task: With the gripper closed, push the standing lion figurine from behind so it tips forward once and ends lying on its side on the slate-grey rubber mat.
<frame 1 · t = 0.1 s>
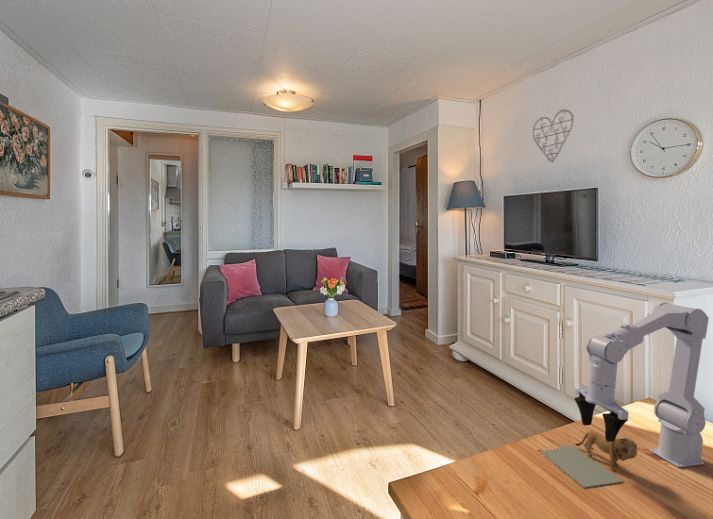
hand: (597, 432, 97), 10 cm above the table, tool pointing down, fingers open, 7 cm apart
lion figurine: (604, 461, 101), on the table, touching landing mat
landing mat: (577, 465, 99), on the table
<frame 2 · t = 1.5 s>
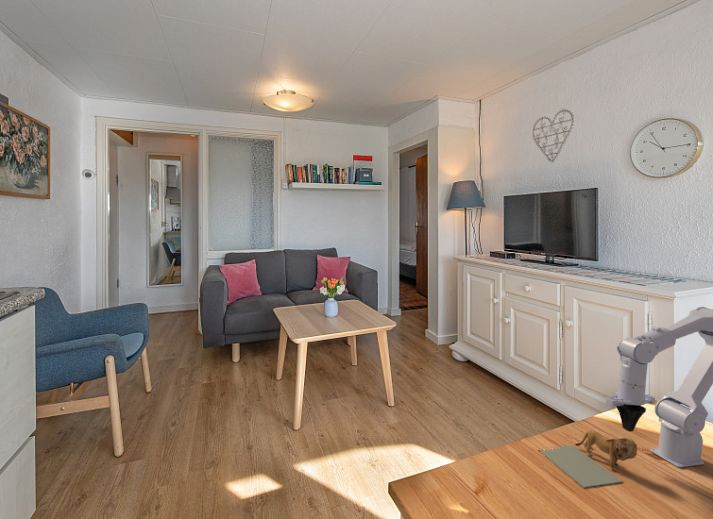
hand: (627, 429, 102), 9 cm above the table, tool pointing down, fingers closed
nothing on the table moved.
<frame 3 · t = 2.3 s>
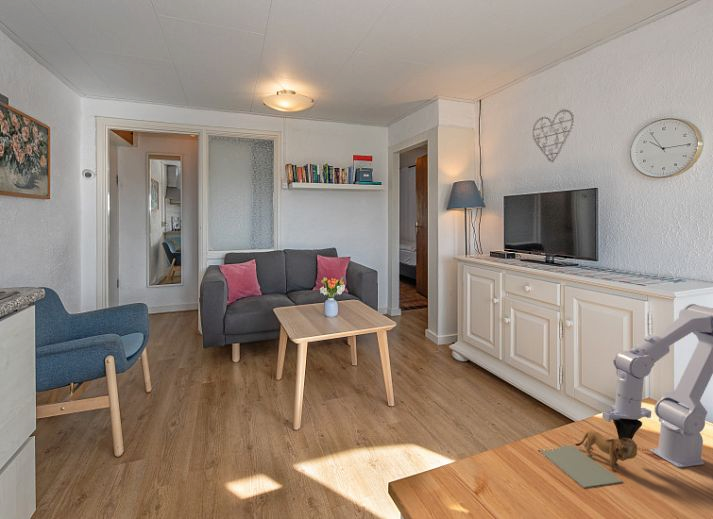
hand: (624, 443, 102), 5 cm above the table, tool pointing down, fingers closed
nothing on the table moved.
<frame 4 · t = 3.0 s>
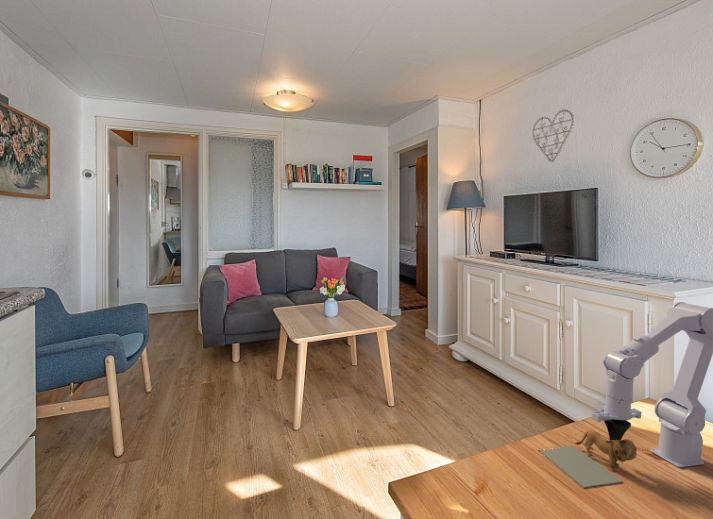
hand: (614, 444, 101), 5 cm above the table, tool pointing down, fingers closed
lion figurine: (604, 461, 101), on the table, touching gripper, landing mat
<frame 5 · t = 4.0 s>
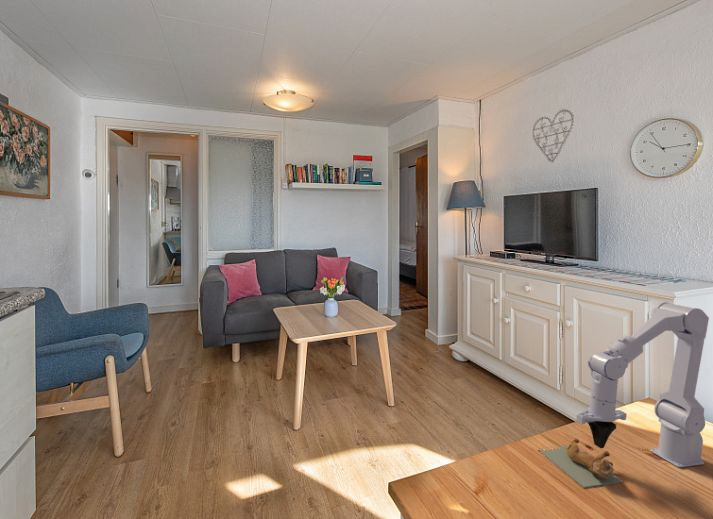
hand: (598, 446, 100), 5 cm above the table, tool pointing down, fingers closed, pressing on lion figurine
lion figurine: (598, 451, 100), point 3 cm above the table, touching gripper, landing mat
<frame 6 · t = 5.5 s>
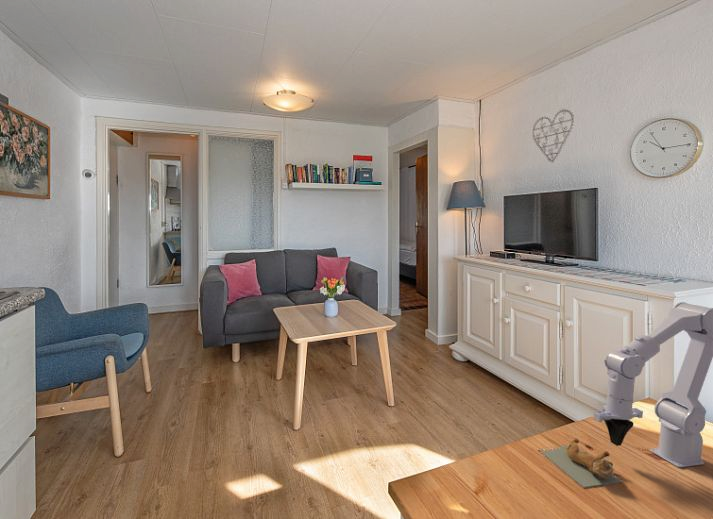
hand: (615, 443, 101), 5 cm above the table, tool pointing down, fingers closed
lion figurine: (598, 451, 100), point 3 cm above the table, touching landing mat
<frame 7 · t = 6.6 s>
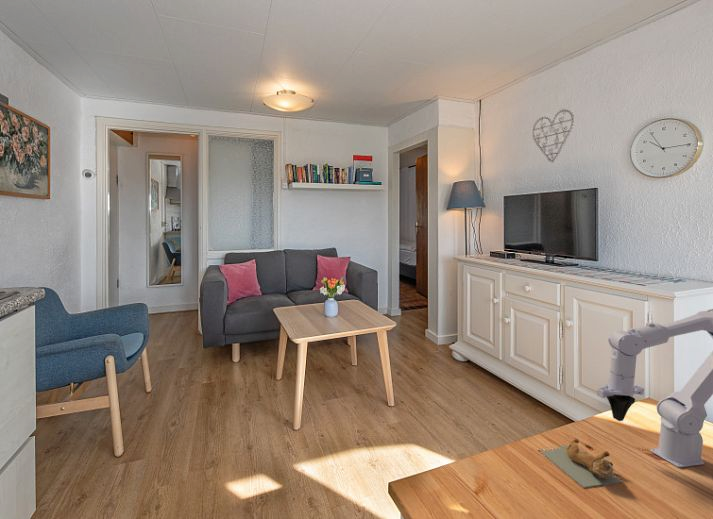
hand: (618, 419, 106), 9 cm above the table, tool pointing down, fingers closed
nothing on the table moved.
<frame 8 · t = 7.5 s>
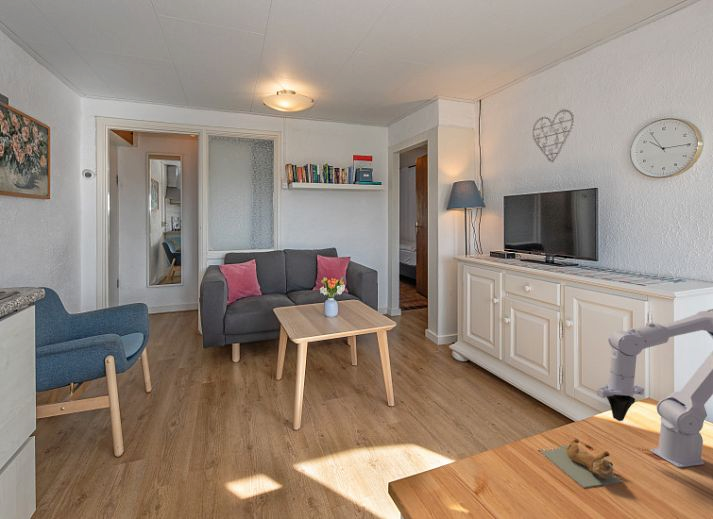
hand: (618, 419, 106), 9 cm above the table, tool pointing down, fingers closed
nothing on the table moved.
at the end: lion figurine tilted 97°; lion figurine inside the target area (2.7 cm from its centre), point 3.3 cm above the table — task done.
